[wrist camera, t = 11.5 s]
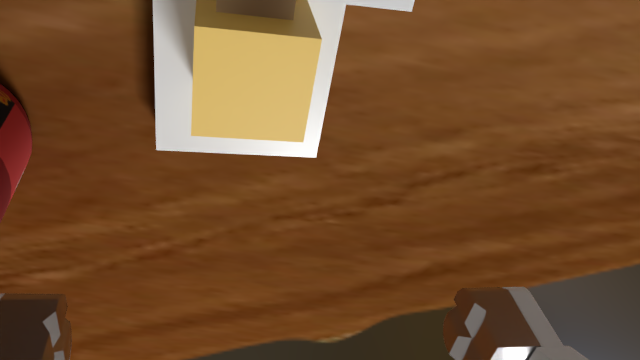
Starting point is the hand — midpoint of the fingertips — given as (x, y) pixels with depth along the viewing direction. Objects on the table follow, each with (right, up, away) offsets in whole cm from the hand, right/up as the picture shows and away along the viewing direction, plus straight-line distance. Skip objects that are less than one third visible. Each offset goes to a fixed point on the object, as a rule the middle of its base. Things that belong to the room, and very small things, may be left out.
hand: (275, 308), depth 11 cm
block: (-3, +10, +15) cm, 18 cm away
